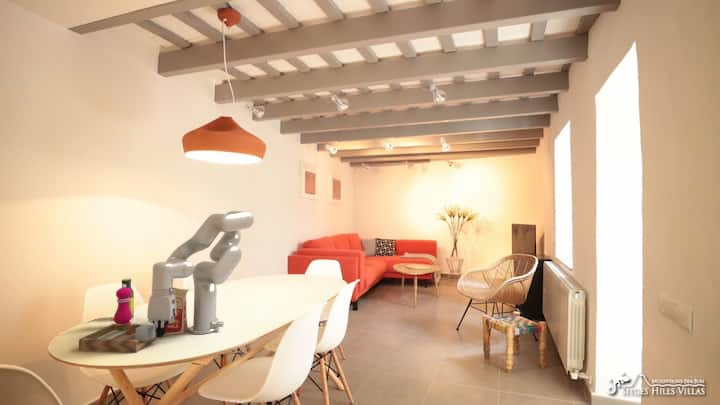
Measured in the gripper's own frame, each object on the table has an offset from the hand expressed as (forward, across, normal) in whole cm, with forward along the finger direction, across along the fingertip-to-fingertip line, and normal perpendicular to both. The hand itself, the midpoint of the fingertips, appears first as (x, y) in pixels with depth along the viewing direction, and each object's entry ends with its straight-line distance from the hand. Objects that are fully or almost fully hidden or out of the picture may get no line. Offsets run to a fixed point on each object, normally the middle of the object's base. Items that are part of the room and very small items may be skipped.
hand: (160, 336), depth 141 cm
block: (+1, +7, 0) cm, 7 cm away
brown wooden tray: (+3, +15, 0) cm, 15 cm away
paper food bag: (+3, +2, -16) cm, 16 cm away
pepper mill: (+3, +29, -18) cm, 34 cm away
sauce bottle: (+3, +36, -30) cm, 47 cm away
